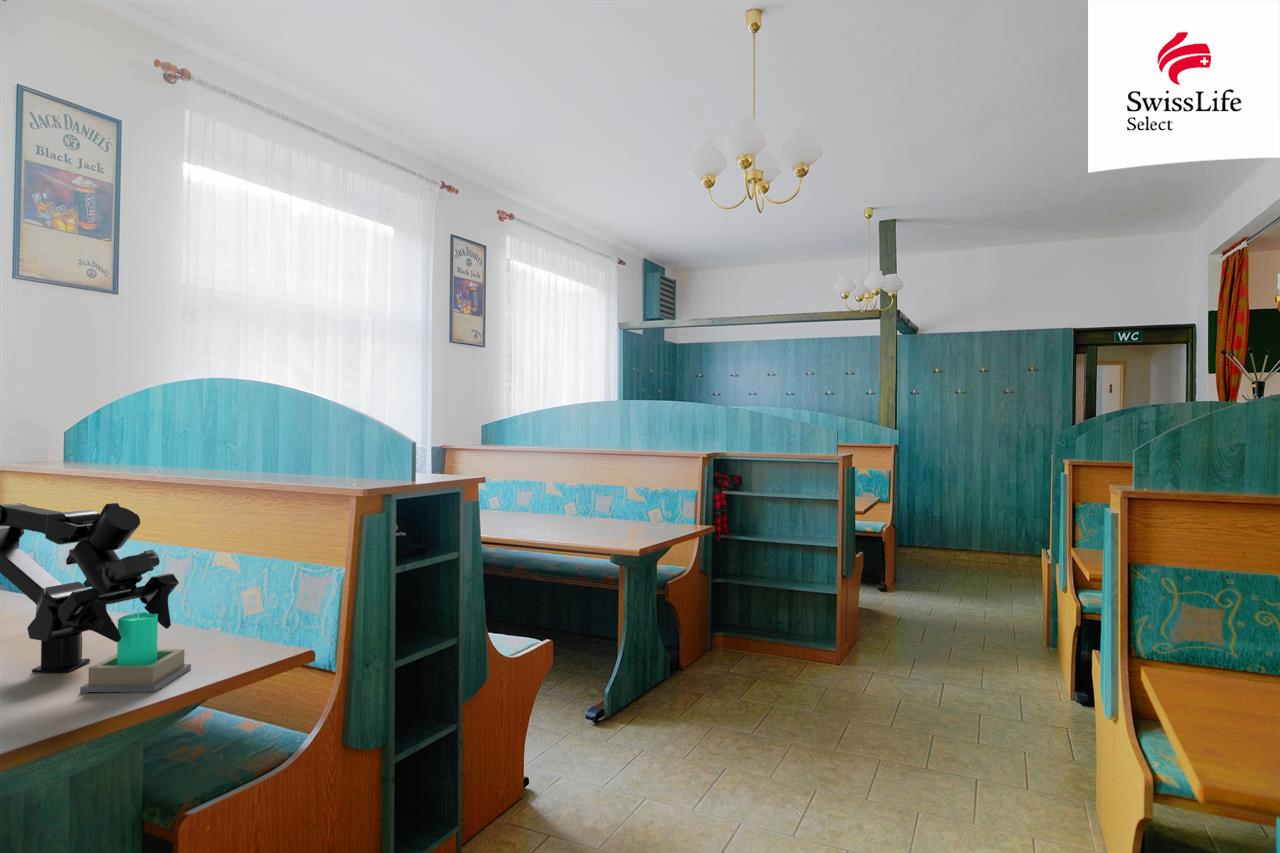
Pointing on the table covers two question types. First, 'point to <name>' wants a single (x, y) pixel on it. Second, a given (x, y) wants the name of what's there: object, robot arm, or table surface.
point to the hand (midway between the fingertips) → (144, 633)
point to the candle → (137, 639)
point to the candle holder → (136, 674)
